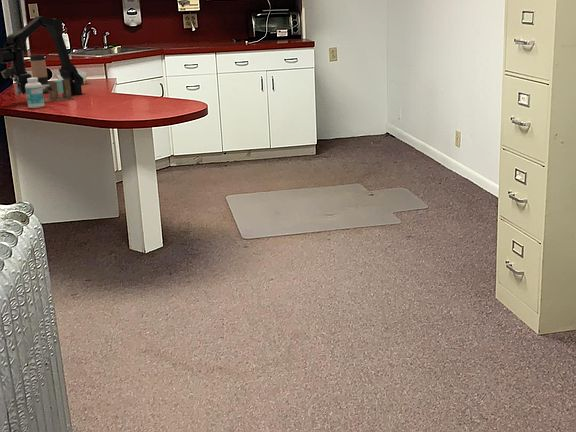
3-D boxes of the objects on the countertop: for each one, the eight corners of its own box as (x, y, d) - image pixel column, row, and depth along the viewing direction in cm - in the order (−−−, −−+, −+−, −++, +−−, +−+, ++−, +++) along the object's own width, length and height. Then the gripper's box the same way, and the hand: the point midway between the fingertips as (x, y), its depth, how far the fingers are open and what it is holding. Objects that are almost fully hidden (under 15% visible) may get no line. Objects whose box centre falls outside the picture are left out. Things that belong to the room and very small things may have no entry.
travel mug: (32, 94, 405) (26, 56, 399) (41, 92, 412) (36, 54, 406) (43, 94, 402) (38, 56, 396) (52, 92, 409) (47, 54, 403)
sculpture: (90, 84, 440) (88, 67, 437) (57, 87, 434) (54, 70, 431) (85, 81, 463) (83, 64, 460) (53, 83, 456) (51, 67, 453)
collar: (60, 92, 379) (58, 80, 377) (63, 92, 374) (62, 80, 372) (54, 92, 377) (52, 80, 376) (57, 93, 372) (56, 81, 371)
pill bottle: (27, 107, 354) (23, 78, 350) (43, 105, 356) (39, 76, 353) (28, 108, 347) (24, 79, 343) (45, 107, 350) (41, 78, 346)
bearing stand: (69, 97, 384) (66, 79, 381) (75, 98, 376) (72, 80, 373) (29, 101, 374) (26, 83, 371) (34, 103, 366) (32, 84, 363)
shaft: (55, 90, 377) (54, 81, 375) (58, 91, 373) (56, 82, 372) (16, 94, 367) (15, 85, 366) (18, 95, 363) (17, 86, 362)
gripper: (-4, 61, 366) (1, 94, 370) (5, 63, 350) (10, 97, 355) (20, 59, 371) (24, 91, 376) (29, 61, 356) (34, 94, 360)
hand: (23, 93), depth 366 cm, fingers closed on shaft, 3 cm apart
